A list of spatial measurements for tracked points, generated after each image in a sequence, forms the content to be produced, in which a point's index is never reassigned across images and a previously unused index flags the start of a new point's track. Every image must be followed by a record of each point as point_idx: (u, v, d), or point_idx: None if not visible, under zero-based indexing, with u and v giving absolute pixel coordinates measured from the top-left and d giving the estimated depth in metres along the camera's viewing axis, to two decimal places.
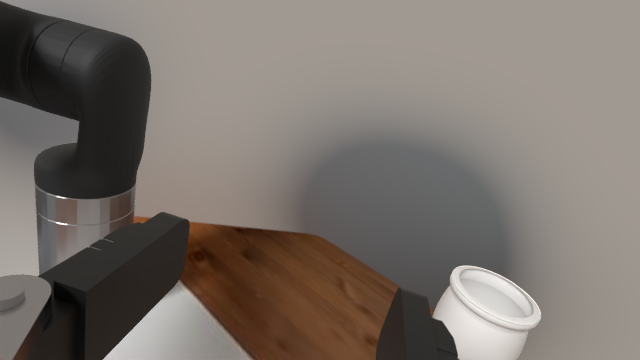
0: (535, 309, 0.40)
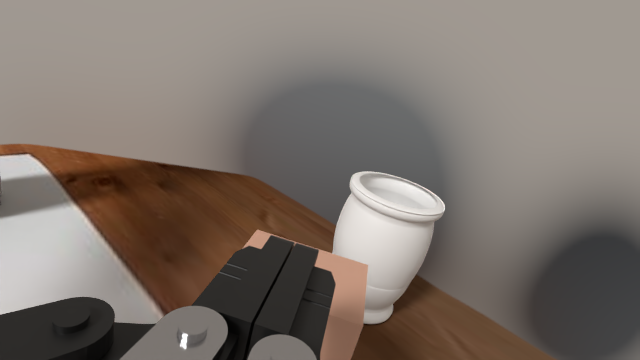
0: (439, 206, 0.36)
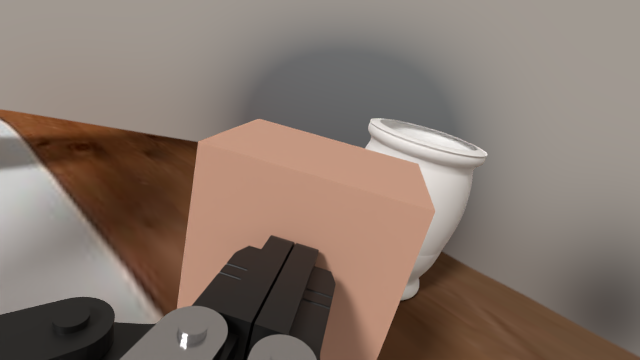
0: (480, 150, 0.29)
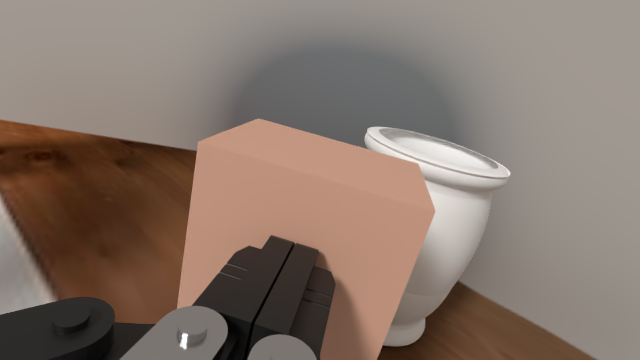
0: (501, 168, 0.23)
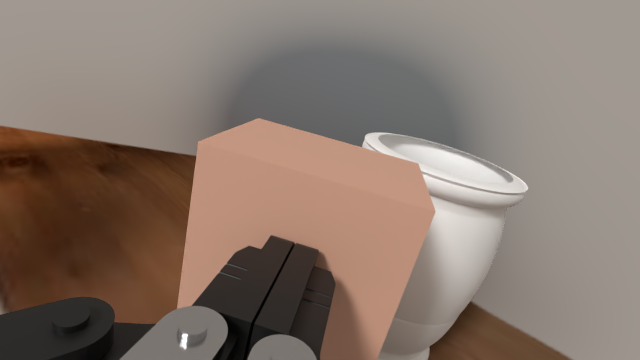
0: (517, 181, 0.21)
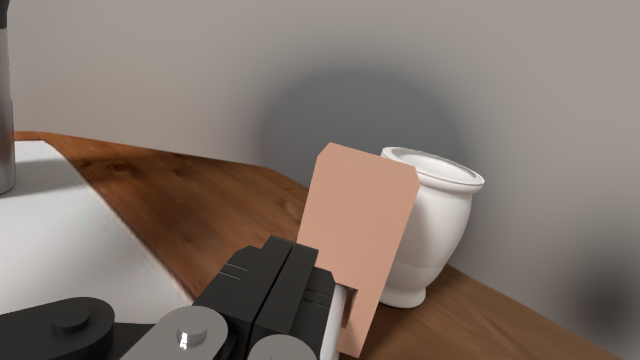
0: (478, 178, 0.33)
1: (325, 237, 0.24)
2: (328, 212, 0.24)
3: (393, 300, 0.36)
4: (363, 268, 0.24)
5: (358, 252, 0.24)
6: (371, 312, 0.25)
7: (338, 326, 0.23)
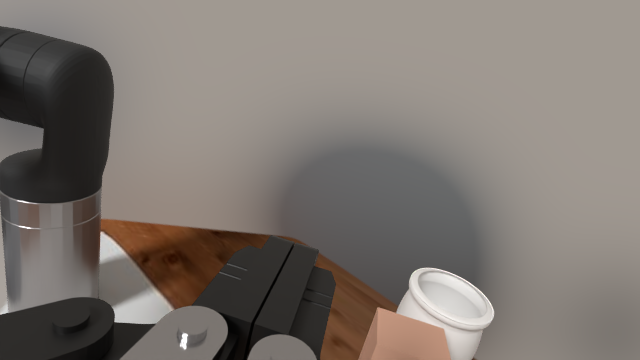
0: (489, 310, 0.41)
1: None
2: None
3: None
4: None
5: None
6: None
7: None
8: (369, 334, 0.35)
